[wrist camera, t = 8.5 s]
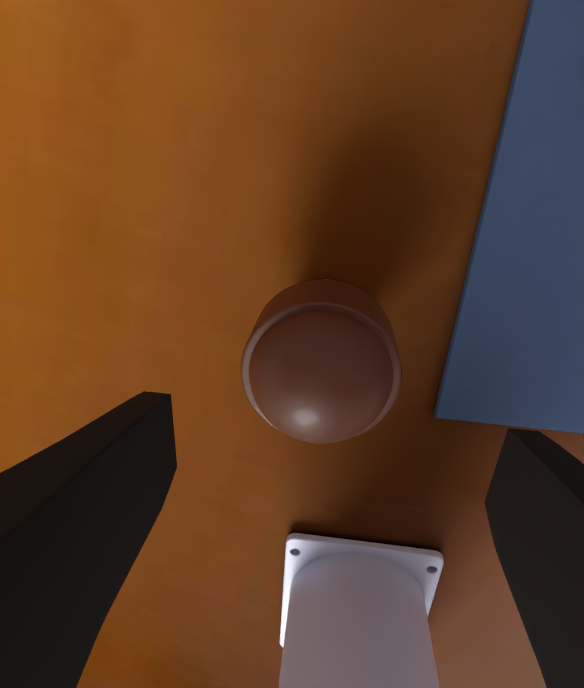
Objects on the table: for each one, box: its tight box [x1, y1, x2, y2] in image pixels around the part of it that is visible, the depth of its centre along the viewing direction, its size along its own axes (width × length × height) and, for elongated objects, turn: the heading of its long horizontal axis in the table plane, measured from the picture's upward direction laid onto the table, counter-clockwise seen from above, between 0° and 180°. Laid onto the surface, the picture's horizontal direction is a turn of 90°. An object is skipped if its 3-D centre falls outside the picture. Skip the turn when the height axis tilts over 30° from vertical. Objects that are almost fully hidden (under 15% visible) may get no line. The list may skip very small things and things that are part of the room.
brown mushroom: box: [241, 279, 402, 444], centre depth 15 cm, size 5×5×7 cm
